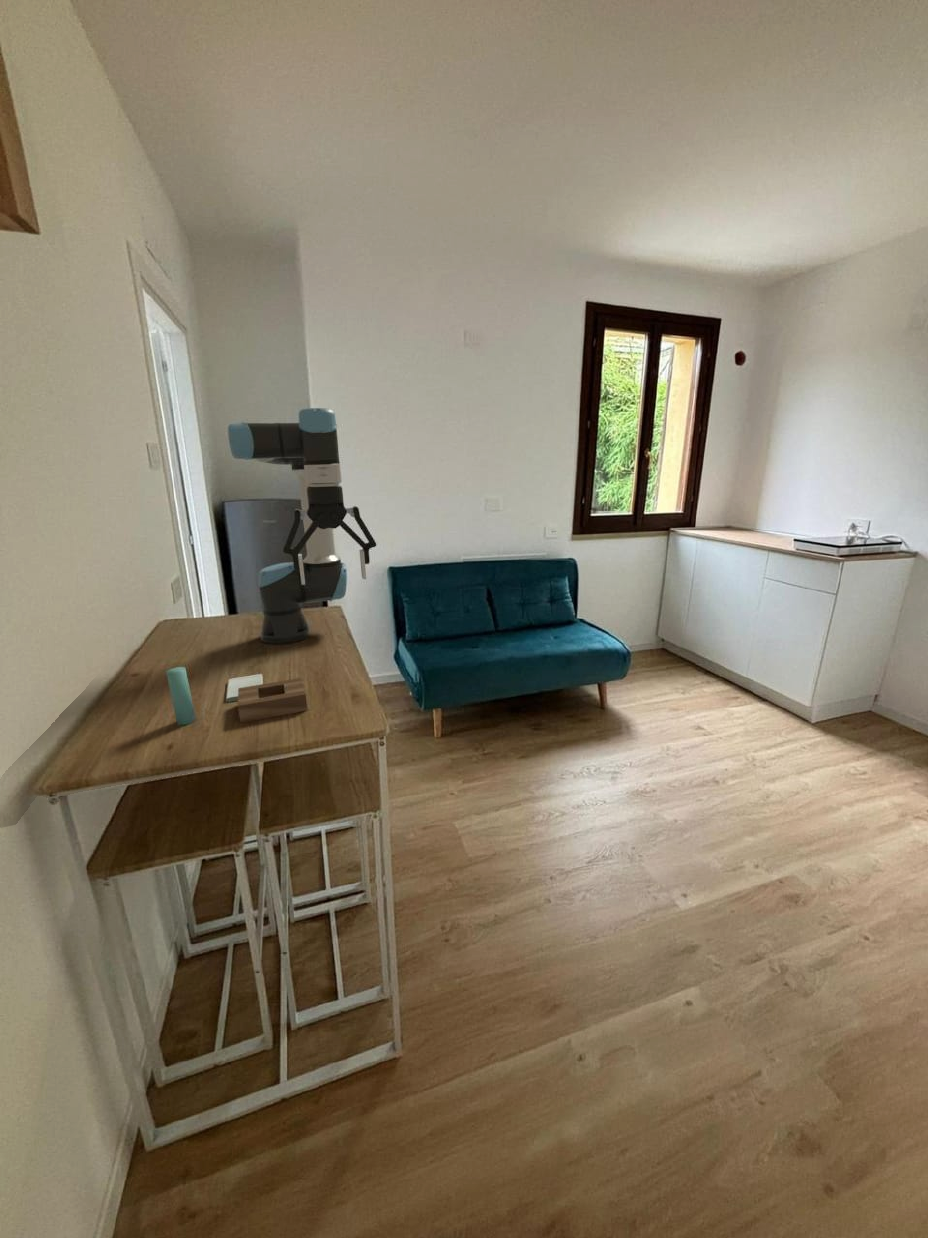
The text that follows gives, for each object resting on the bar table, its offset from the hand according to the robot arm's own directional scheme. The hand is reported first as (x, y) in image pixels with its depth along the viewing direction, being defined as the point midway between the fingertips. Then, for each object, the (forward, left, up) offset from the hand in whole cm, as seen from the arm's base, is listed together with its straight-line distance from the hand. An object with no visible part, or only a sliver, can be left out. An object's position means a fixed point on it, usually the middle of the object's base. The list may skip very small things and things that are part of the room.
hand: (334, 580), depth 117 cm
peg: (+2, -35, -27) cm, 44 cm away
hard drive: (-11, -23, -28) cm, 38 cm away
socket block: (+3, -17, -27) cm, 32 cm away
